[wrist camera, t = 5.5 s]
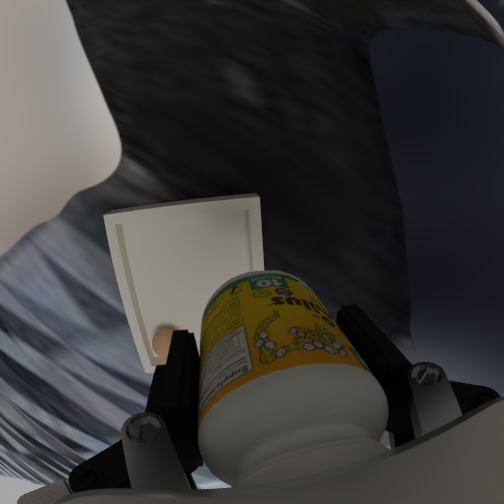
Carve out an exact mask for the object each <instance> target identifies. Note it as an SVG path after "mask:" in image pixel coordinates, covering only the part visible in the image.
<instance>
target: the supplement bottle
mask: <svg viewBox="0 0 504 504" xmlns="http://www.w3.org/2000/svg"><path fill="white" fill-rule="evenodd" d="M388 414H389V412H388V402H387V398H386V395H385V393H384V390H383V389H382V387H381V385H380V384H379V382H378V381H377V379H376V378H375V376H374V375H373V373H372V372H371V371H370V369H369V368H368V366H367V365H366V363H365V362H364V361H363V359H362V358H361V356H360V355H359V354H358V352H357V351H356V349H355V348H354V347H353V345H352V344H351V342H350V341H349V340H348V339H347V337H346V336H345V335H344V333H343V332H342V330H341V329H340V328H339V326H338V325H337V324H336V322H335V321H334V320H333V318H332V317H331V315H330V314H329V313H328V311H327V310H326V308H325V307H324V306H323V305H322V303H321V302H320V300H319V299H318V298H317V296H316V295H315V294H314V292H313V291H312V290H311V289H310V288H309V286H307V285H306V284H305V283H304V282H303V281H301V280H300V279H299V278H297V277H295V276H293V275H291V274H288V273H285V272H281V271H252V272H247V273H243V274H241V275H238V276H236V277H233V278H231V279H230V280H228V281H226V282H225V283H224V284H223V285H221V286H220V287H219V288H218V289H217V290H216V291H215V293H214V294H213V295H212V297H211V298H210V299H209V301H208V303H207V305H206V307H205V310H204V312H203V317H202V322H201V332H200V361H199V387H198V445H199V450H200V454H201V456H202V459H203V461H204V463H205V464H206V466H207V467H208V469H209V470H210V471H211V472H212V473H213V474H214V475H215V476H216V477H217V478H219V479H220V480H222V481H223V482H225V483H227V484H228V485H230V486H232V487H241V486H250V485H257V484H264V483H271V482H277V481H282V480H288V479H293V478H298V477H302V476H307V475H311V474H315V473H319V472H323V471H327V470H331V469H334V468H338V467H341V466H345V465H348V464H351V463H354V462H358V461H361V460H364V459H366V458H369V457H372V456H375V455H378V454H380V453H383V452H386V451H388V450H390V449H389V448H387V447H384V446H383V444H381V443H380V440H381V438H382V436H383V434H384V432H385V429H386V426H387V422H388Z"/></svg>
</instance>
